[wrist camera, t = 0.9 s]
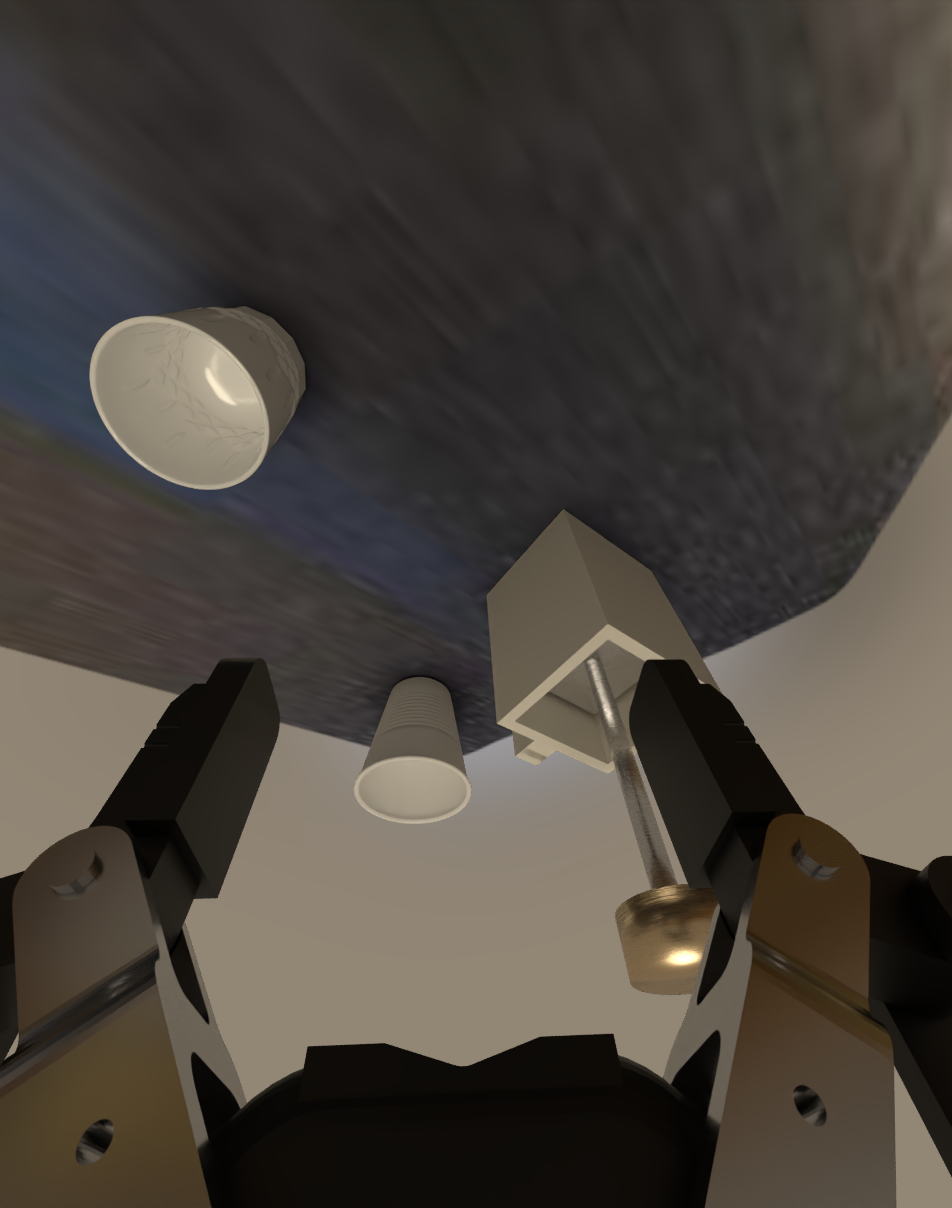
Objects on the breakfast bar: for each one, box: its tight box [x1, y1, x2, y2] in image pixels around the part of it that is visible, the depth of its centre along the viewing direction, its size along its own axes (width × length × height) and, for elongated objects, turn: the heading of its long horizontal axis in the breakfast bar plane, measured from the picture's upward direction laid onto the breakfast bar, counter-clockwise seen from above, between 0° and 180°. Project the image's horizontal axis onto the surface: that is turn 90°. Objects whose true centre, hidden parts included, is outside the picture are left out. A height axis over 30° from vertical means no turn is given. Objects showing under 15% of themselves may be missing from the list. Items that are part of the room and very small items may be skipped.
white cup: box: [90, 306, 306, 490], centre depth 27 cm, size 8×8×10 cm
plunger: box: [549, 640, 718, 995], centre depth 27 cm, size 8×8×19 cm
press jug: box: [487, 509, 722, 774], centre depth 37 cm, size 13×10×14 cm
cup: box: [354, 677, 472, 824], centre depth 46 cm, size 10×10×11 cm
